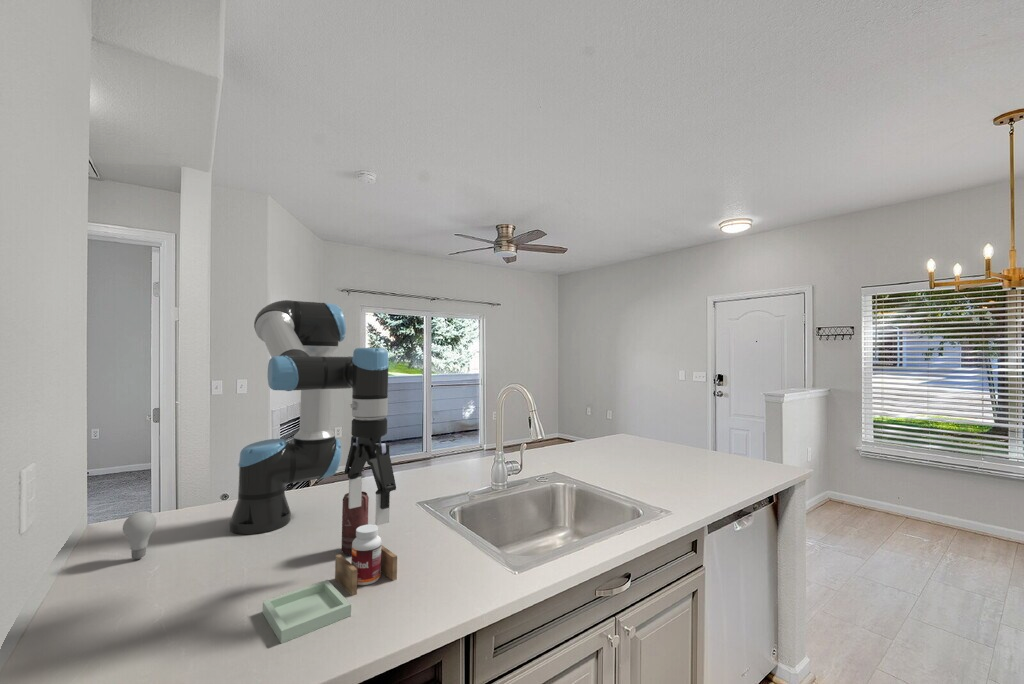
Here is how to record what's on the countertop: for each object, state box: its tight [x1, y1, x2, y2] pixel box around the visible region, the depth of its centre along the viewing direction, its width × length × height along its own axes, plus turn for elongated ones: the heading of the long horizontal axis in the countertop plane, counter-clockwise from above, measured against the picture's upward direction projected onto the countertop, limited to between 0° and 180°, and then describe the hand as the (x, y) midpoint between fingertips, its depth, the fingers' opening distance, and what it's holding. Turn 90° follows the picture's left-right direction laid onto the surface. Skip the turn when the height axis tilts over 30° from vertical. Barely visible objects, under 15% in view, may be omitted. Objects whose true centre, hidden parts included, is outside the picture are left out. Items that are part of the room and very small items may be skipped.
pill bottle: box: [350, 523, 382, 586], centre depth 96 cm, size 6×6×11 cm
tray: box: [262, 579, 352, 644], centre depth 83 cm, size 12×12×2 cm
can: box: [340, 491, 370, 557], centre depth 110 cm, size 6×6×14 cm
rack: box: [334, 544, 398, 596], centre depth 96 cm, size 9×10×5 cm
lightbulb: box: [122, 510, 157, 560], centre depth 104 cm, size 6×6×11 cm
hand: (367, 515), depth 96 cm, fingers open, 13 cm apart
